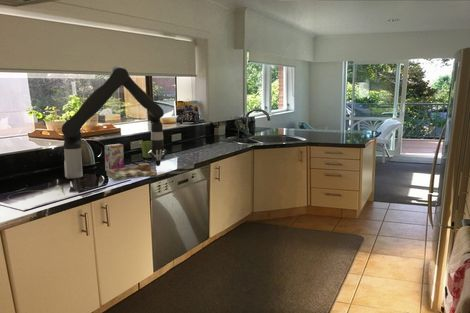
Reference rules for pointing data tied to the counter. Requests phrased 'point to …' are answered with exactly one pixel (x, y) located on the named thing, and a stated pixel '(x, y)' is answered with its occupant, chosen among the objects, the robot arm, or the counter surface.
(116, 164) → the candy bar box
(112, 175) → the box
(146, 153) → the plant pot
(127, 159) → the counter surface
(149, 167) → the walnut block
